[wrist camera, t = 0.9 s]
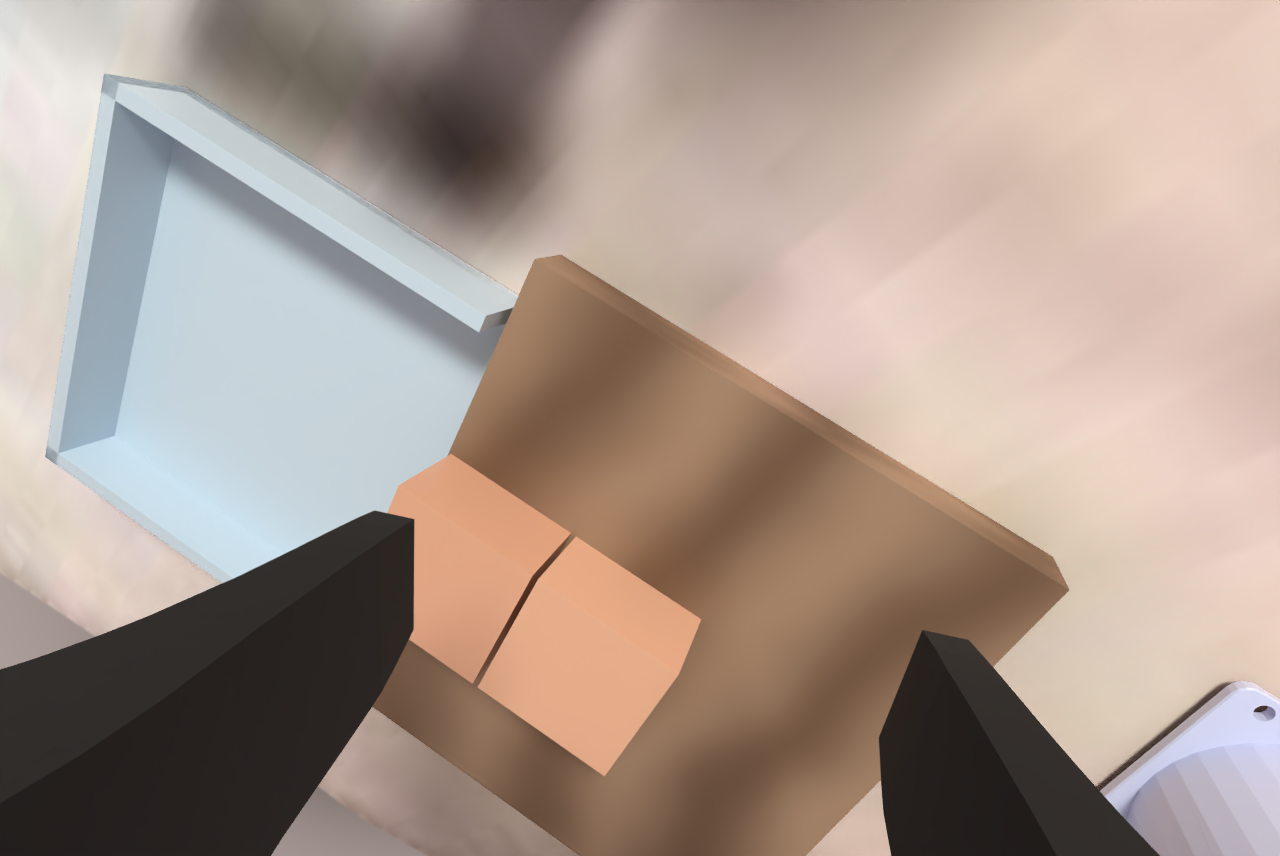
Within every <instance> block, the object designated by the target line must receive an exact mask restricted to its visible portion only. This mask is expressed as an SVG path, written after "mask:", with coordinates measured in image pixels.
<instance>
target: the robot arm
mask: <svg viewBox="0 0 1280 856" xmlns="http://www.w3.org/2000/svg"><path fill="white" fill-rule="evenodd" d="M413 630H414V519H412V518H407V517H403V516H398V515H393V514H389V513H384V512H380V511H375V510H374V511H372V512H370V513H367V514H365V515H363V516H360V517H358V518H356V519H354V520H352V521H350V522H348V523H346V524H344V525H341V526H339V527H337V528H335V529H333V530H331V531H329V532H327V533H325V534H323V535H321V536H319V537H317V538H315V539H313V540H311V541H309V542H307V543H305V544H303V545H301V546H299V547H297V548H295V549H293V550H291V551H289V552H287V553H285V554H283V555H281V556H279V557H277V558H275V559H273V560H271V561H269V562H267V563H264V564H262V565H260V566H258V567H256V568H254V569H252V570H250V571H248V572H246V573H244V574H242V575H240V576H238V577H236V578H233V579H231V580H229V581H227V582H224V583H222V584H220V585H218V586H215V587H213V588H211V589H209V590H206V591H204V592H202V593H200V594H197V595H195V596H193V597H191V598H188V599H186V600H184V601H182V602H179V603H177V604H175V605H173V606H170V607H168V608H166V609H163V610H161V611H159V612H157V613H154V614H152V615H150V616H147V617H145V618H142V619H140V620H137V621H135V622H133V623H130V624H128V625H125V626H122V627H120V628H117V629H115V630H112V631H110V632H107V633H104V634H102V635H99V636H96V637H94V638H91V639H88V640H86V641H83V642H80V643H77V644H74V645H72V646H69V647H66V648H64V649H61V650H58V651H55V652H52V653H50V654H47V655H44V656H41V657H38V658H35V659H32V660H29V661H26V662H23V663H20V664H17V665H14V666H11V667H7V668H4V669H1V670H0V856H271V855H272V853H273V851H274V850H275V848H276V847H277V845H278V844H279V842H280V840H281V839H282V837H283V836H284V834H285V833H286V831H287V830H288V829H289V827H290V826H291V824H292V823H293V821H294V820H295V818H296V817H297V815H298V814H299V813H300V811H301V810H302V808H303V807H304V805H305V804H306V802H307V801H308V799H309V798H310V797H311V795H312V794H313V792H314V791H315V789H316V788H317V786H318V785H319V783H320V782H321V781H322V779H323V778H324V776H325V775H326V773H327V772H328V770H329V769H330V768H331V766H332V765H333V763H334V762H335V760H336V759H337V757H338V756H339V754H340V753H341V752H342V750H343V749H344V747H345V746H346V744H347V743H348V741H349V740H350V738H351V737H352V735H353V734H354V733H355V731H356V730H357V728H358V727H359V725H360V724H361V722H362V721H363V719H364V718H365V716H366V715H367V713H368V712H369V710H370V709H371V707H372V706H373V704H374V703H375V701H376V700H377V698H378V697H379V695H380V694H381V692H382V690H383V689H384V687H385V685H386V683H387V681H388V679H389V677H390V675H391V674H392V672H393V670H394V668H395V666H396V664H397V662H398V660H399V658H400V656H401V654H402V652H403V650H404V648H405V646H406V644H407V642H408V640H409V638H410V636H411V634H412V632H413ZM1259 706H1269V707H1268V708H1267V709H1266V710H1265V711H1263V712H1253V711H1254V710H1255V708H1257V707H1259ZM879 752H880V771H881V786H882V798H883V811H884V818H885V823H886V829H887V834H888V840H889V845H890V850H891V856H1280V699H1279V698H1277V697H1275V696H1274V695H1272V694H1271V693H1269V692H1267V691H1266V690H1264V689H1262V688H1261V687H1259V686H1257V685H1256V684H1253V683H1251V682H1245V681H1239V682H1234V683H1231V684H1230V685H1228V686H1226V687H1225V688H1224V689H1223V690H1221V691H1220V692H1219V693H1218V694H1217V695H1215V696H1214V697H1213V698H1212V699H1211V700H1209V701H1208V702H1207V703H1206V704H1204V705H1203V706H1202V707H1201V708H1200V709H1198V710H1197V711H1196V712H1195V713H1194V714H1192V715H1191V716H1190V717H1189V718H1187V719H1186V720H1185V721H1184V722H1183V723H1181V724H1180V725H1179V726H1178V727H1177V728H1175V729H1174V730H1173V731H1172V732H1170V733H1169V734H1168V735H1167V736H1166V737H1164V738H1163V739H1162V740H1161V741H1160V742H1158V743H1157V744H1156V745H1155V746H1153V747H1152V748H1151V749H1150V750H1149V751H1147V752H1146V753H1145V754H1144V755H1143V756H1141V757H1140V758H1139V759H1138V760H1136V761H1135V762H1134V763H1133V764H1132V765H1130V766H1129V767H1128V768H1127V769H1126V770H1124V771H1123V772H1122V773H1121V774H1119V775H1118V776H1117V777H1116V778H1115V779H1113V780H1112V781H1111V782H1110V783H1109V784H1107V785H1106V786H1105V787H1104V788H1103V789H1101V790H1100V791H1099V790H1098V789H1097V788H1096V787H1095V786H1094V784H1093V783H1092V782H1091V781H1090V780H1089V779H1088V778H1087V777H1086V775H1085V774H1084V773H1083V772H1082V771H1081V770H1080V769H1079V768H1078V766H1077V765H1076V764H1075V763H1074V762H1073V761H1072V760H1071V758H1070V757H1069V756H1068V755H1067V754H1066V753H1065V751H1064V750H1063V749H1062V748H1061V747H1060V746H1059V745H1058V743H1057V742H1056V741H1055V740H1054V739H1053V738H1052V736H1051V735H1050V734H1049V733H1048V732H1047V731H1046V729H1045V728H1044V727H1043V726H1042V725H1041V724H1040V722H1039V721H1038V720H1037V719H1036V718H1035V716H1034V715H1033V714H1032V713H1031V712H1030V710H1029V709H1028V708H1027V707H1026V706H1025V705H1024V703H1023V702H1022V701H1021V700H1020V699H1019V697H1018V696H1017V695H1016V694H1015V693H1014V691H1013V690H1012V689H1011V688H1010V687H1009V686H1008V684H1007V683H1006V682H1005V681H1004V680H1003V678H1002V677H1001V676H1000V675H999V674H998V673H997V671H996V670H995V669H994V668H993V667H992V665H991V664H990V663H989V662H988V661H987V660H986V659H985V657H984V656H983V655H982V654H981V653H980V652H979V651H978V650H977V648H976V647H975V646H974V645H973V644H972V643H971V642H970V641H969V640H967V639H963V638H958V637H953V636H949V635H944V634H940V633H935V632H930V631H926V630H922V632H921V634H920V637H919V639H918V642H917V644H916V647H915V649H914V652H913V654H912V657H911V659H910V662H909V664H908V667H907V669H906V671H905V674H904V676H903V679H902V681H901V684H900V686H899V689H898V691H897V694H896V696H895V699H894V701H893V704H892V706H891V708H890V711H889V713H888V716H887V718H886V721H885V723H884V726H883V728H882V731H881V733H880V736H879Z"/></svg>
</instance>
